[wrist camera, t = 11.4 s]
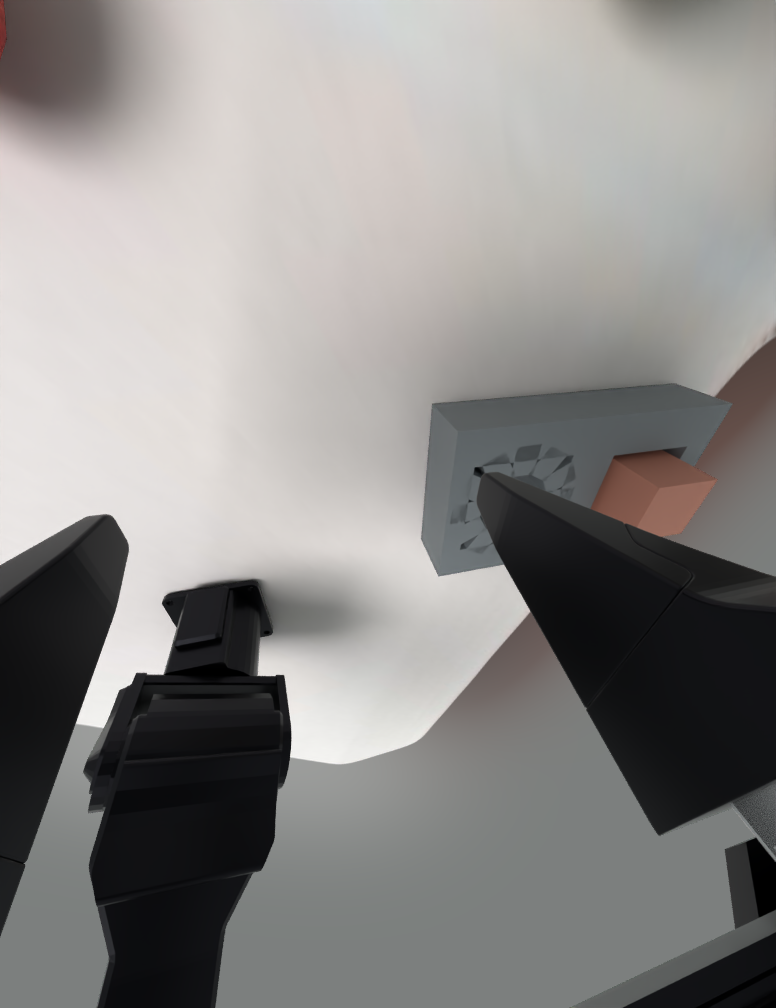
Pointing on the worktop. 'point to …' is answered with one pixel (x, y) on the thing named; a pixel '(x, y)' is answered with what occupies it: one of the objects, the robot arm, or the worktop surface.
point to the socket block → (547, 453)
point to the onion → (2, 27)
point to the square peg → (652, 491)
